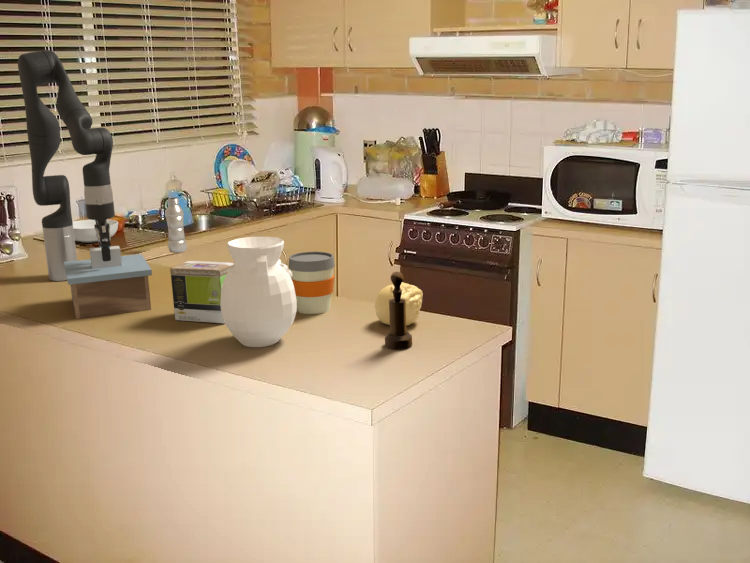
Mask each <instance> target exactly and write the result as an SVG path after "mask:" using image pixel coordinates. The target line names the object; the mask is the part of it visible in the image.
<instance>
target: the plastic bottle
mask: <svg viewBox="0 0 750 563" xmlns="http://www.w3.org/2000/svg"><path fill="white" fill-rule="evenodd" d="M167 204H168V206H167V208H166V209H165V210H164V211H165V213H164V215H165V219H166V223H167V228H168V229H167V231H168V242H167V248H168V250H169V252H170V253H173V254H181V253H185V252H186V251H187V250H188V244H187V240H186V236H185V230H184V229H185V228H184V210H183V208H182V207H181V206H180V205H179V204H180V201H179V197H176V196H175V197H173V196H172V197H168V198H167Z"/></svg>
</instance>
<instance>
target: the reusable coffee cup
mask: <svg viewBox="0 0 750 563" xmlns="http://www.w3.org/2000/svg"><path fill="white" fill-rule="evenodd" d="M334 258H335V257H334V254H332V253H331V252H326V251H304V252H302V251H301V252H298V253H297V252H296V253H294V254H291V255H289V257H288V270H290V271H291V272H292V275H293V276H292V277H291V279H292V282H293V285H294V289H295V295H296V300H297V312H298V313H300V314H304V315H319V314H324V313H325V314H326V313H327V312H329V311H330V310H331V298H332V293H333V292H334V283H335V282H334V281H335V275H334V267H335V265H336V264H335V259H334Z"/></svg>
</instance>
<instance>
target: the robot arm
mask: <svg viewBox="0 0 750 563" xmlns="http://www.w3.org/2000/svg"><path fill="white" fill-rule="evenodd" d="M17 69H18V74H19V75H18V76H19V81H20V85H21V86H20V87H21V90H22V96H23V102H24V103H23V104H24V108H25V110H24V111H25V121H26V122H25V123H26V132H27V133H26V134H27V139H28V149H29V154H30V161H31V164H30V165H31V182H32V195H33V199H34V202H35V203H36V205H38V206H42V207H44V206H45V207H46V206H56V205H58V206H59V208H57V210H55V211H54V212H52V213H50V214H48V215H45V216H44V217H42V218H41V226H42V228H41V229H42V235H43V241H44V249H45V250H44V251H45V257H46V258H45V260H46V265H47V266H46V267H47V272H48V280H50V281H52V282H55V281H56V282H62V281H67V277H66V272H65V267H64V262H69V261H78V258H77V248H76V246H77V245H76V241H75V238H74V230H73V222H74V221H73V215H72V206H71V192H70V191H71V190H70V183H69V182H70V181H69V180H68V177H67V176H66V175H64V174H57V175H45V171H46V169H47V167H48V165H49V163H50V162H51V160H52V159H53V158H54V156H55V155H56V153H57V151H58V149H59V148H60V145H61V141H62V139H61V129H60V122H59V120H58V118H57V117H56V115H55V114H54V113H53V112H52V110H51V109H50V108H48V107H47V105H46V104H44V101H42V100H41V98H40V96H39V94H38V87H39V86H43V85H49V84H52V83H55V84H56V85H57V86H58V88H57V89H58V91H57V97H56V104H55V106H56V111H57V114H58V115H59V117H60V119H61V120H62V122H63V123H64V125H66V128H67V131H68V133H69V136H70V141H71V144H72V147H73V149H74V151H75V152H76V153H77V154H79V155H81V156H89V155H90V156H92V155H95V158H94V160H93V161H92V162H88V163H86V164H84V165H83V167H82V178H83V180H82V181H83V187H84V190H83V192H84V193H83V194H84V202H85V204H84V206H85V212H86V218H87V220H95V222H96V224H94V228H95V231H96V237H97V238H98V239H97V240H98V242H97V243H98V248H101V251H102V260H103V261H104V262H105V261H110V260H111V256H110V247H111V246H112V244H111V240H112V239H111V237H110V225H109V223H107V222H106V220H107V219H109V220H111V219H112V218H114V217H115V216H116V214H115V213H116V211H115V204H114V203H115V202H114V195H113V194H114V193H113V189H112V183H111V176H110V166H111V158H112V153H113V147H114V139H113V136H112V134H111V132H110V131H109V130H108V128H105V127H92V126H93V118H92V116H91V115H90V113H89V111H88V110H87V108H86V107H85V105H84V104H83V103H82V102H81V100H80V98H79V97H78V95H77V93H76V91H75V89H74V85H73V84H72V82H71V79H70V78H69V75H68V74H67V72H66V70H65V67H64V64H63V62H62V61H61V60H60V58H59V56H58V55H57V54H56V53H55V51H53V50H51V49H44V50H38V51H32V52H26V53H25V52H24V53H21V54H20V55H19V56H18V59H17Z"/></svg>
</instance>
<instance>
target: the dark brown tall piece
mask: <svg viewBox="0 0 750 563" xmlns="http://www.w3.org/2000/svg"><path fill="white" fill-rule="evenodd" d="M404 278H405V277H404V275H403V273H402V272H400V271H393V272H392V273H391V275H390V282H391V283H392V284H393V285H394V290H393V291H392V292H393V296H394V299H391V300H389V315H390V325H389V332H388V333H387V334H385V336H384V347H385V348H387V349H389V350H404V349H405V350H406V349H409V348H410V347H412V345H413V335H412V334H411V333H410V332H409V331H408V330H407V326H406V300H405V299H401V295H402V290H401V289H400V285H401V283H402V282H403V281H404ZM403 283H404V282H403Z"/></svg>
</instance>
